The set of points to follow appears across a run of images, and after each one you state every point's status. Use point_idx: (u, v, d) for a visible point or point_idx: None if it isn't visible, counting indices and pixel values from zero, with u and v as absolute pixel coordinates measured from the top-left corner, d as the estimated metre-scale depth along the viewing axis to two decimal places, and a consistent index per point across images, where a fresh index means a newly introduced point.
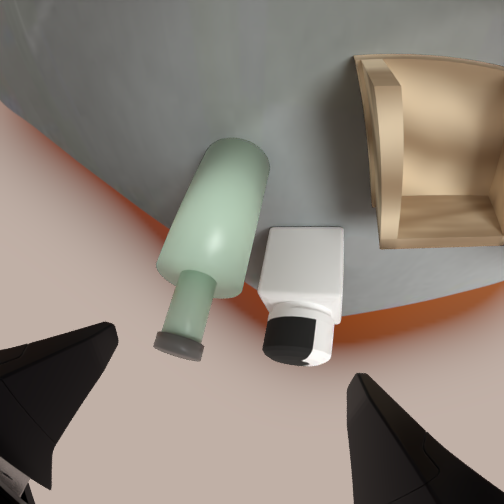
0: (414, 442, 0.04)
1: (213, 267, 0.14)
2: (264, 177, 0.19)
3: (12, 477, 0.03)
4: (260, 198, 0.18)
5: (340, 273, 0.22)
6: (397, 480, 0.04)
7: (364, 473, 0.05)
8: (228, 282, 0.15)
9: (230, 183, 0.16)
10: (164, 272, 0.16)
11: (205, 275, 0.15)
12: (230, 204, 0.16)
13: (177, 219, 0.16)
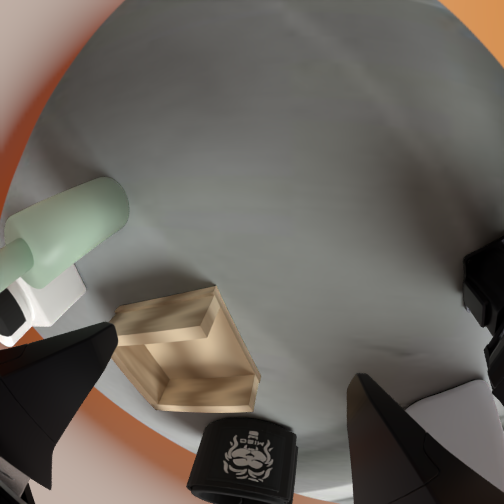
0: (414, 442, 0.04)
1: (43, 272, 0.13)
2: None
3: (12, 477, 0.03)
4: None
5: (61, 314, 0.22)
6: (397, 480, 0.04)
7: (364, 473, 0.05)
8: (34, 279, 0.14)
9: (97, 233, 0.18)
10: (15, 221, 0.12)
11: (32, 264, 0.13)
12: (84, 247, 0.17)
13: (59, 213, 0.14)
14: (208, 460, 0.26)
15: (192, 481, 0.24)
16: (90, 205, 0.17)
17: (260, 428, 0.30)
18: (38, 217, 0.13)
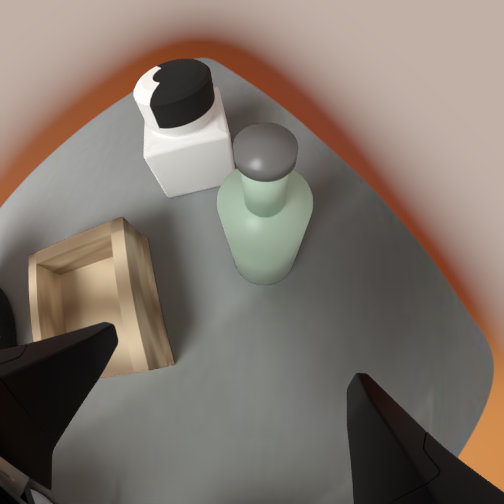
0: (414, 442, 0.04)
1: (241, 229, 0.14)
2: None
3: (12, 477, 0.03)
4: None
5: (152, 170, 0.22)
6: (397, 480, 0.04)
7: (364, 473, 0.05)
8: (230, 203, 0.15)
9: (251, 269, 0.19)
10: (305, 201, 0.15)
11: (252, 213, 0.14)
12: (244, 260, 0.18)
13: (292, 250, 0.16)
14: None
15: None
16: (282, 267, 0.19)
17: None
18: (301, 234, 0.15)
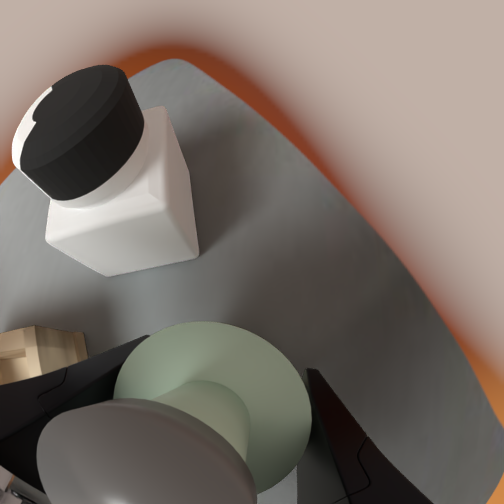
0: (348, 446, 0.05)
1: None
2: None
3: None
4: None
5: (67, 254, 0.13)
6: (326, 486, 0.04)
7: (305, 473, 0.06)
8: None
9: None
10: (293, 427, 0.06)
11: None
12: None
13: None
14: None
15: None
16: None
17: None
18: None
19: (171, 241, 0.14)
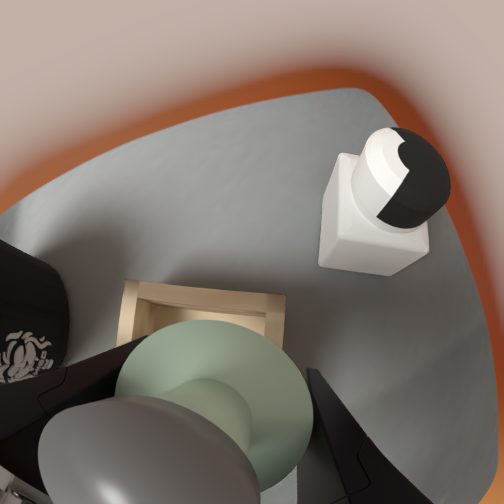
0: (348, 446, 0.05)
1: None
2: None
3: None
4: None
5: (333, 248, 0.19)
6: (326, 486, 0.04)
7: (304, 474, 0.06)
8: None
9: None
10: (295, 425, 0.06)
11: None
12: None
13: None
14: (22, 300, 0.16)
15: None
16: None
17: (52, 368, 0.19)
18: None
19: (399, 265, 0.20)
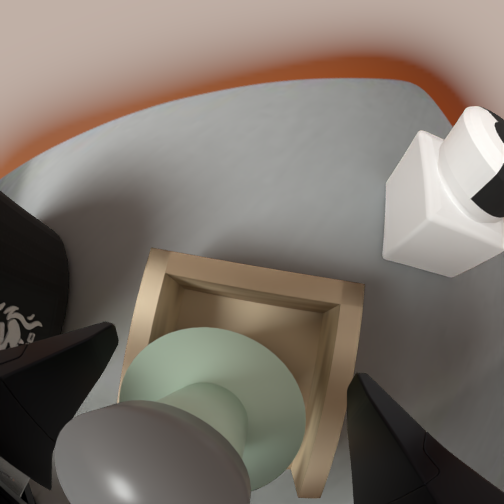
0: (414, 442, 0.04)
1: None
2: None
3: (12, 477, 0.03)
4: None
5: (414, 233, 0.14)
6: (397, 480, 0.04)
7: (364, 473, 0.05)
8: None
9: None
10: (289, 427, 0.06)
11: None
12: None
13: None
14: (10, 263, 0.12)
15: None
16: None
17: None
18: None
19: (470, 263, 0.15)
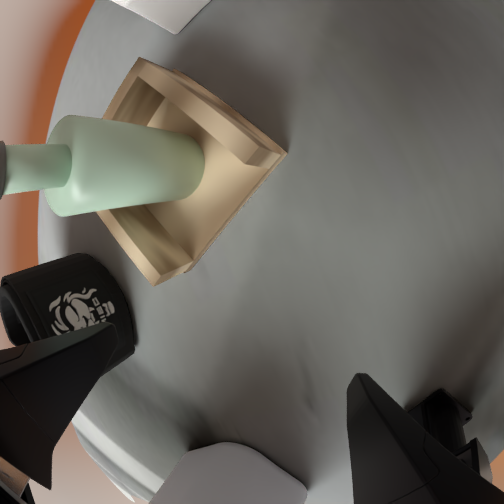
0: (414, 442, 0.04)
1: (70, 204, 0.11)
2: None
3: (12, 477, 0.03)
4: None
5: (142, 13, 0.14)
6: (397, 480, 0.04)
7: (364, 473, 0.05)
8: (56, 199, 0.11)
9: (151, 195, 0.16)
10: (75, 126, 0.10)
11: (63, 185, 0.11)
12: (129, 201, 0.14)
13: (128, 152, 0.12)
14: (48, 279, 0.20)
15: (13, 279, 0.18)
16: (164, 163, 0.15)
17: (119, 311, 0.25)
18: (103, 141, 0.11)
19: None
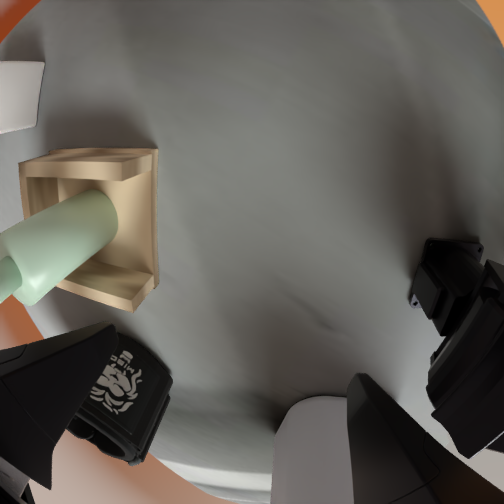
0: (414, 442, 0.04)
1: (32, 291, 0.13)
2: None
3: (12, 477, 0.03)
4: None
5: (1, 131, 0.15)
6: (397, 480, 0.04)
7: (364, 473, 0.05)
8: (24, 296, 0.13)
9: (85, 248, 0.17)
10: (3, 240, 0.11)
11: (21, 282, 0.12)
12: (72, 263, 0.16)
13: (46, 231, 0.14)
14: None
15: None
16: (77, 221, 0.16)
17: (137, 353, 0.27)
18: (25, 236, 0.12)
19: (19, 69, 0.13)
